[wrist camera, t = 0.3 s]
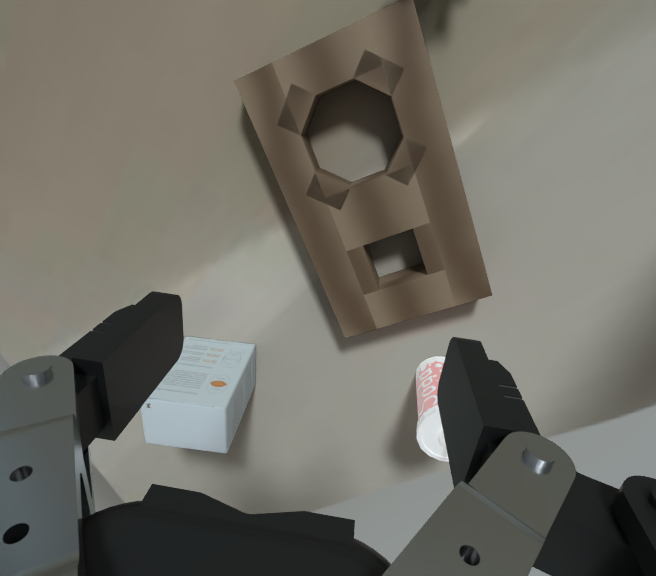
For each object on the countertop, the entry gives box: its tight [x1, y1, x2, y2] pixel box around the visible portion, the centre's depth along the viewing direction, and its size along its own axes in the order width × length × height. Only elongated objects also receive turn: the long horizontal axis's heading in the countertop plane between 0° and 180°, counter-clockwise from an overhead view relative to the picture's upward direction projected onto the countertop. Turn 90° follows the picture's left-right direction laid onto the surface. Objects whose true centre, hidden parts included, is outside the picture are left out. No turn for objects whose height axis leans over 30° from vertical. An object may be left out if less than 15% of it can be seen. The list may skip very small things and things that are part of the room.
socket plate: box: [234, 0, 492, 338], centre depth 35 cm, size 14×24×3 cm, turn 21°
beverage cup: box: [416, 357, 449, 461], centre depth 37 cm, size 6×6×14 cm
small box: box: [141, 337, 256, 454], centre depth 41 cm, size 8×6×10 cm
